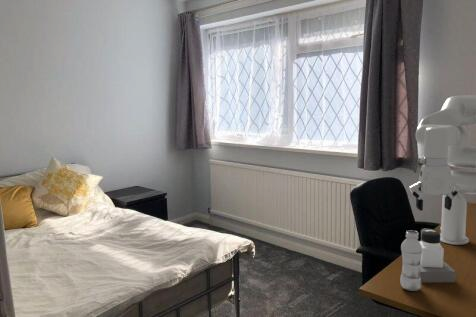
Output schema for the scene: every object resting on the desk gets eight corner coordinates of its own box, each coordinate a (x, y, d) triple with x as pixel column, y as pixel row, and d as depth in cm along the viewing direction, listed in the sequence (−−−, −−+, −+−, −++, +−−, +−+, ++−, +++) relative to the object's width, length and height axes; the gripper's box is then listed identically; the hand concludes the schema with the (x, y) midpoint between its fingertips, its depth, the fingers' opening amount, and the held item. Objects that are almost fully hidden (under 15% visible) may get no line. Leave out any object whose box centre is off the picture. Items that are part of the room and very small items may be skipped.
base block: (405, 266, 148) (405, 256, 148) (437, 266, 148) (438, 256, 147) (419, 282, 135) (420, 271, 135) (455, 282, 135) (455, 271, 134)
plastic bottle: (412, 295, 127) (414, 236, 124) (395, 287, 133) (397, 231, 130) (425, 290, 130) (427, 233, 127) (408, 282, 136) (410, 227, 133)
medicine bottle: (443, 268, 137) (445, 235, 135) (421, 267, 138) (423, 235, 136) (437, 260, 144) (438, 229, 142) (416, 259, 145) (417, 228, 143)
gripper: (414, 164, 133) (413, 212, 135) (466, 163, 132) (463, 211, 134) (406, 161, 140) (404, 206, 143) (455, 159, 139) (453, 205, 142)
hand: (433, 209), depth 138 cm, fingers open, 9 cm apart
